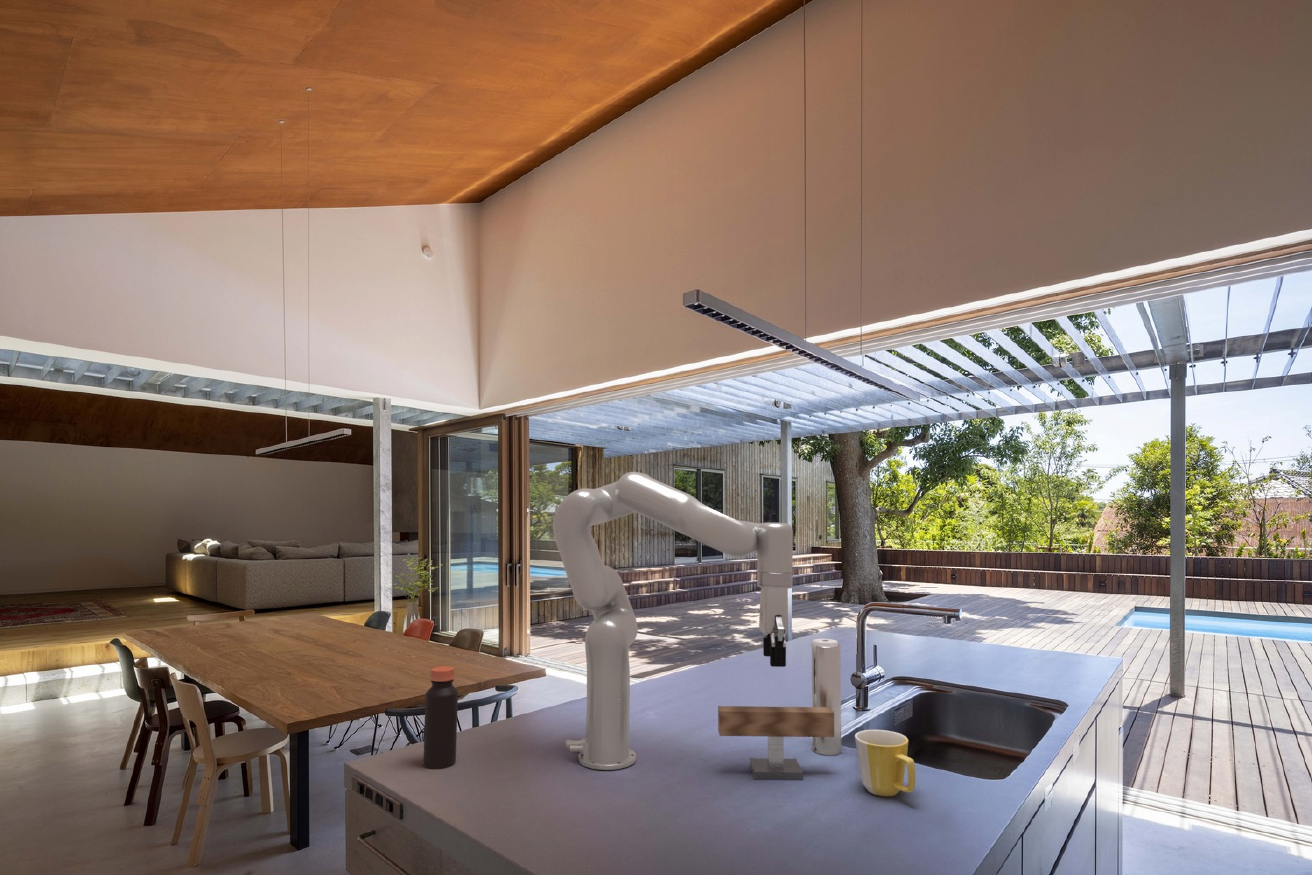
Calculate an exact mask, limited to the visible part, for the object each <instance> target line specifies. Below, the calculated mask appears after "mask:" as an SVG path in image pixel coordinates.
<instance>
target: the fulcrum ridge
mask: <svg viewBox="0 0 1312 875" xmlns="http://www.w3.org/2000/svg"><path fill="white" fill-rule="evenodd" d="M784 741H785V737H768V736H767V758H752V757H751V758H749V768H750V771H751V773H752V777H753V779H754V780H755V781H756V780H758V781H759V780H760V781H762V780H763V781H764V780H766V781H768V780H769V781H772V780H773V781H777V780H779V781H780V780H781V781H785V780H786V781H791V780H792V781H803V780H804V771H803V770H802V768H801V765H800V764H799V762H798V761H797V758H784V755H785V751H784V750H785V748H784V746H785V744H784V743H785V742H784Z"/></svg>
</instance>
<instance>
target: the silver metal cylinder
mask: <svg viewBox="0 0 1312 875" xmlns="http://www.w3.org/2000/svg"><path fill="white" fill-rule="evenodd" d="M838 642H839V641H838V640H836V639H831V638H815V639H813V640H812V643H811V705H812V706H811V707H830V708H831V710H832V711H833V712H834V737H811V739H812V741H811V742H812V745H811V746H812V751H813V752H814V753H816V754H818V755H823V756H837V755H840V754H841V753H842V693H841V692H842V688H841V687H842V686H841V682H842V680H841V679H842V678H841V677H842V675H841V668H842V667H841V666H842V665H841V645H840V644H839V643H838Z"/></svg>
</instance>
